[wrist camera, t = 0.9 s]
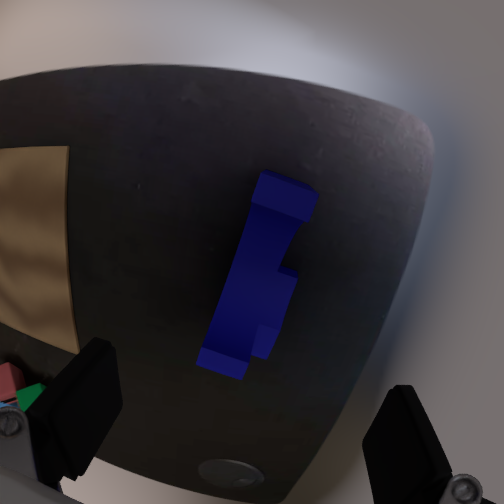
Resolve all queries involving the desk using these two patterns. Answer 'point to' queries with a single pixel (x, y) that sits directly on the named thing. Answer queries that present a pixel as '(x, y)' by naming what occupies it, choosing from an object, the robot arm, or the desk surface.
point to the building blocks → (16, 388)
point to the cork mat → (36, 245)
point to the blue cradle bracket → (258, 277)
